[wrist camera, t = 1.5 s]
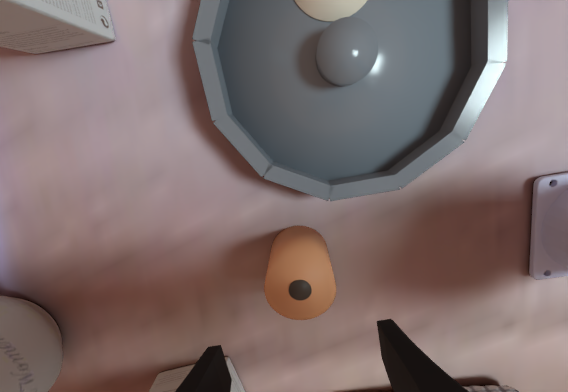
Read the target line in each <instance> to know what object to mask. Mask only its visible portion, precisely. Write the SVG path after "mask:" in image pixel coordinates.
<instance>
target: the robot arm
mask: <svg viewBox="0 0 568 392" xmlns="http://www.w3.org/2000/svg"><path fill="white" fill-rule="evenodd" d="M551 180H552V184H551V185H549V183H550V181H551ZM545 271H546V272H545ZM544 272H545V273H544ZM529 274H530V276H531V277H533V278H534V279H536V280H541V279H548V278H555V277H563V276H568V172H566V173H560V174H554V175H548V176H542V177H539V178H537V179H536V180H535V182H534V185H533V206H532V227H531V248H530V269H529ZM377 326H378V333H379V340H380V347H381V355H382V360H383V363H384V366H385V369H386V372H387V375H388V378H389V381H390V383H391V386H392V388H393V390H394V392H469V391H468V390H467V389H465V388H464V387H463V386H461V385H460V384H459V383H458V382H456V381H455V380H454V379H453V378H451V377H450V376H449V375H448V374H447V373H446V372H444V371H443V370H442V369H441V368H440V367H439V366H437V365H436V364H435V363H434V362H433V361H432V360H431V359H430V358H429V357H428V356H427V355H426V354H425V353H424V352H422V351H421V350H420V349H419V348H418V347H417V346H416V345H415V344H414V343H413V342H412V341H411V340H410V339H409V338H408V337H407V335H406V334H405V333H404V332H403V331H402V330H401V329H400V328H399V327H398V326H397V324H396V323H395V322H394V321H393V320H391V319H387V320H381V321H377ZM231 382H232V379H231V375H230V372H229V369H228V366H227V363H226V360H225V357H224V354H223V351H222V348H221V345H218V346H212V347H208V348H207V349H206V351H205V352H204V353H203V355H202V356H201V357H200V359H199V360H198V361H197V363H196V364H195V366H194V367H193V368H192V370H191V371H190V372H189V374H188V375H187V376H186V378H185V379H184V380H183V382H182V383H181V384H180V386H179V387H178V388H177V390H176V391H175V392H230V391H231Z"/></svg>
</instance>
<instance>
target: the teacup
mask: <svg viewBox="0 0 568 392" xmlns="http://www.w3.org/2000/svg"><path fill="white" fill-rule="evenodd" d="M62 362H63V349H62V337H61V333H60V330H59V327H58V325H57V324H56V322H55V321H54V319H53V318H52V317H51V316H50V315H49V314H48V313H47V312H46V311H45V310H44V309H43V308H41V307H39V306H38V305H36V304H34V303H32V302H30V301H27V300H23V299H20V298H11V297H7V296H0V392H48V391H49V390H50V388H51V387H52V385H53V384H54V382H55V381H56V379H57V377H58V375H59V373H60V370H61V367H62Z"/></svg>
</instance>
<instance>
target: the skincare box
mask: <svg viewBox="0 0 568 392" xmlns="http://www.w3.org/2000/svg"><path fill="white" fill-rule="evenodd" d="M114 40H115V35H114V31H113V26H112V22H111V17H110V14H109V10H108V6H107V2H106V0H0V47H4V48H8V49H13V50H18V51H23V52H28V53H33V54H39V53H45V52H51V51H57V50H63V49H69V48H75V47H81V46H87V45H93V44H99V43H105V42H111V41H114Z"/></svg>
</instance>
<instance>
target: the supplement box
mask: <svg viewBox="0 0 568 392" xmlns="http://www.w3.org/2000/svg"><path fill="white" fill-rule="evenodd" d="M225 360H226V363H227V366H228V369H229V372H230V375H231V379H232V382H231V391H230V392H245V390H244V388H243V386H242V383H241V381H240V379H239V377H238V375H237V373H236V371H235V369H234V367H233V365H232V363H231V360H230V358H229V357H225ZM194 366H195V364H194V365H189V366H185V367H181V368H177V369H173V370H168V371H165V372H162V373H159V374H158V375H157V377H156V379H155V381H154V383H153V385H152V387H151V388H150V390H149V392H175V391H176V390H177V388H178V387H179V386H180V384H181V383H182V382H183V380H184V379H185V378H186V376H187V375H188V374H189V372H190V371H191V370H192V368H193V367H194Z"/></svg>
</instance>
